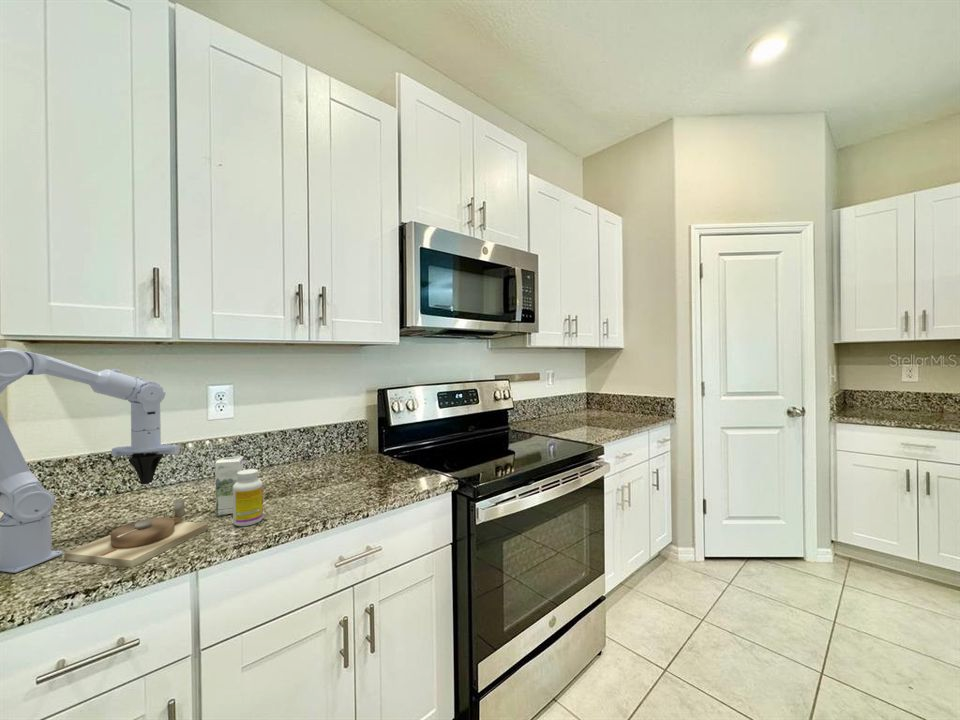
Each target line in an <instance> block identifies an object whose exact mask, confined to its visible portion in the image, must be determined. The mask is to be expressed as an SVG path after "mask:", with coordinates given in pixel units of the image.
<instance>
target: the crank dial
mask: <svg viewBox="0 0 960 720" xmlns="http://www.w3.org/2000/svg"><path fill="white" fill-rule="evenodd" d="M173 502H174V503H173V504H174V505H173V506H174V507H173V509H174V511H173V512H174V516H172V517H165V516H164V517H153V518H152V517H151V518H145V519H141V520H136V521H133V522H130V523H126V524H123V525H122V526H120V527H117V528H115V529H114V530H112V531H111V532H110V535H111V545H112V546H113V547H119V548H124V547H134V546H140V545H144V544H148V543H152V542H155V541H158V540H160V539H163V538H165V537H167V536H169V535H170V534H172V533H173V532H174V523H176V522H178V521H183V517H185V513H186V511H185V498H177V499H174V501H173Z"/></svg>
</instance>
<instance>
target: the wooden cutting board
mask: <svg viewBox="0 0 960 720" xmlns="http://www.w3.org/2000/svg"><path fill="white" fill-rule="evenodd" d="M206 530H207V531H209V523H204V522H194V521H193V522H192V521H183V520H181V521H178V522H176V523H174V532H173V533H172V534H170V535H169V536H167V537H165V538H163V539H160V540H158V541H155V542H152V543H148V544H144V545H140V546H134V547H124V548H119V547H113V546H112V545H111V534H109V535H107V536H104V537H101V538H99V539H96V540H94V541H91V542H88V543H86V544H83V545H82V546H78V547H76V548H74V549H71V550H68V551H66V552H63V554H64V557H63V558H64V561H68V562H76V561H77V563H84V562H85V563H86V564H93V563H99V564H98V565H102V564H111V565H117V566H116V567H119V566H121V568H129V569H130V568H131V569H132V568H134V567H136V566H137V565H140V564H142V563H143V562H147V561H148V560H150V559H153V558H154V557H156V556H158V555H161V554H162V553H164V552H167V551H168V550H171V549H172V548H174V547H176V546H178V544H179V545H180V543H181V544H182V542H183V543H184V541H185V542H187V541H189V540H190V538H191V539H193V538H195V537H196V535H197V536H199V535H200V533H201V534H202V532H203V533H205V532H206ZM204 531H205V532H204ZM198 534H199V535H198ZM186 540H187V541H186ZM111 565H110V566H111Z"/></svg>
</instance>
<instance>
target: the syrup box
mask: <svg viewBox="0 0 960 720" xmlns="http://www.w3.org/2000/svg"><path fill="white" fill-rule="evenodd" d="M214 466H215V467H214V471H215V472H214V473H215V475H214V476H215V516H216V517H221V515H222V516H229V515H228V514H231V515H233V485H234V484H235V483H236V482H238V479H237V472H239V471H242V470H244V456H241V455H240V456H231V457H229V456H227V457H219V458H218V459H217V460H216V461H215V463H214Z"/></svg>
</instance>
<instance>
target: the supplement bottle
mask: <svg viewBox="0 0 960 720" xmlns="http://www.w3.org/2000/svg"><path fill="white" fill-rule="evenodd" d="M258 476H259V470H258V469H254V468H251V469H250V468H249V469H243V470H242V471H239V472H237V479H238V482H236V483H235V484H234V485H233V514H232V523H233V524H234V525H235V526H237V527H247V526H251V525H255V524H258V523H259V522H260V523H261V521H262V520H263V518H264V497H263V496H264V494H263V493H264V492H263V491H264V490H263V488H264V487H263V481H262V480H261V479H259V478H258Z"/></svg>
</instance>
